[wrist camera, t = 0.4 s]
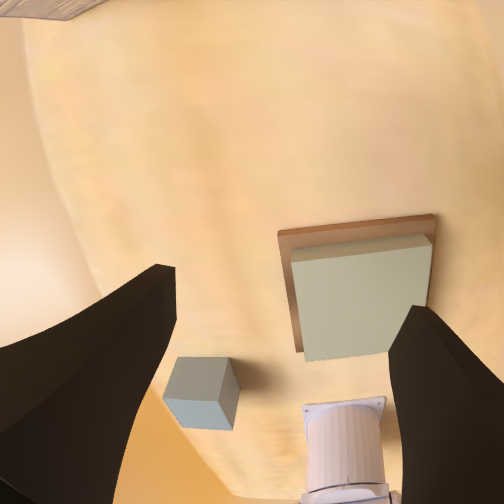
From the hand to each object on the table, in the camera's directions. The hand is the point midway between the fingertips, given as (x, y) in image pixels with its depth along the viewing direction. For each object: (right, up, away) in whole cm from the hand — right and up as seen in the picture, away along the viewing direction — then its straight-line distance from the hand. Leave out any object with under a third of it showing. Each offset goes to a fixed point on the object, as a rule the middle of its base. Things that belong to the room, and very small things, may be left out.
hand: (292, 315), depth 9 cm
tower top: (+6, -1, +10) cm, 12 cm away
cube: (-5, -9, +17) cm, 20 cm away
